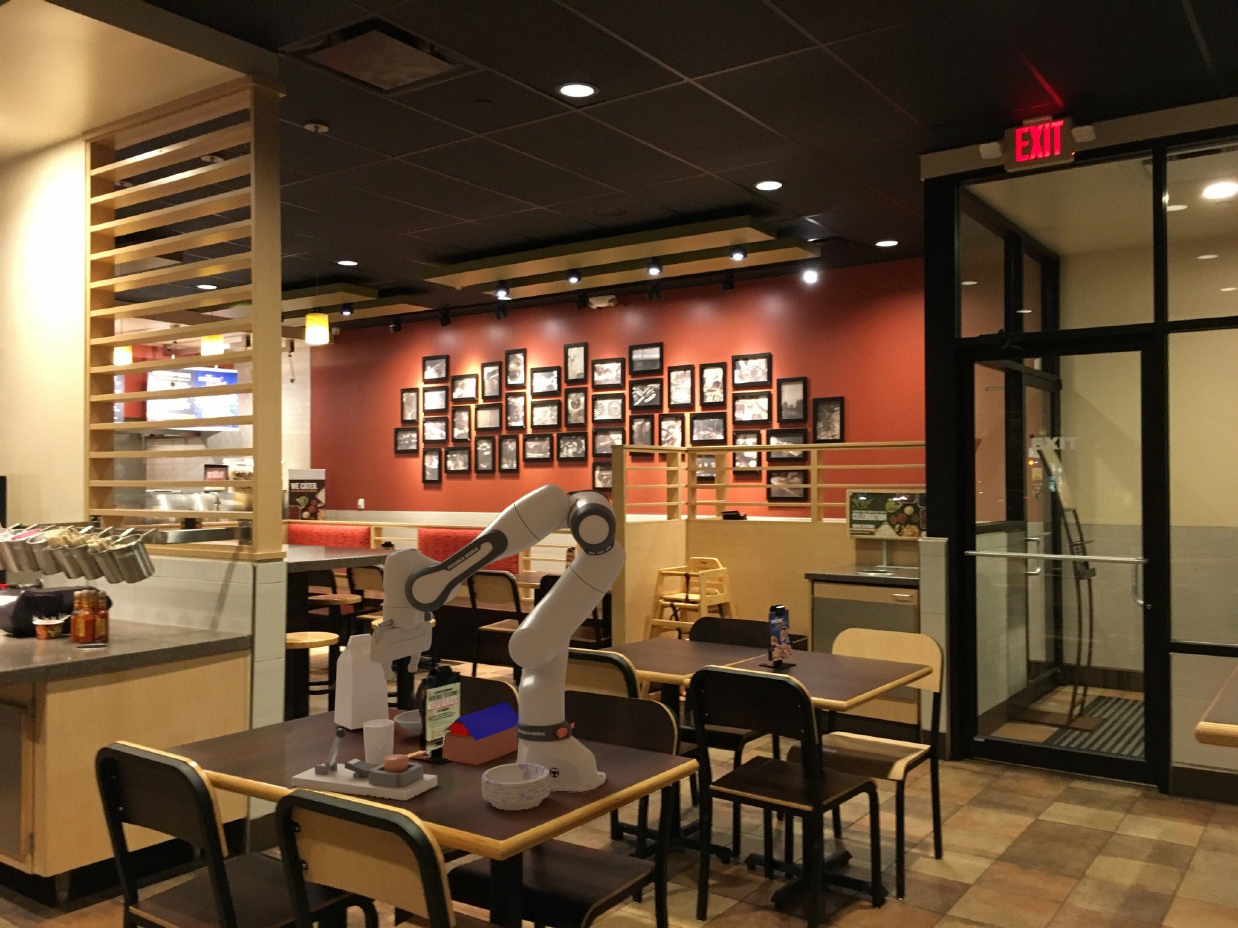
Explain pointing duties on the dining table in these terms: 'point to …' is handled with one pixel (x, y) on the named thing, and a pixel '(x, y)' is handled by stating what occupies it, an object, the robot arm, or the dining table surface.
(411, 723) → the dish
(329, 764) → the toggle lever
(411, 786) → the console
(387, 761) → the push button
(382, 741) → the white cup
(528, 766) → the paper bowls
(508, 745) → the house
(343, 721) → the milk
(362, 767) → the rocker switch
